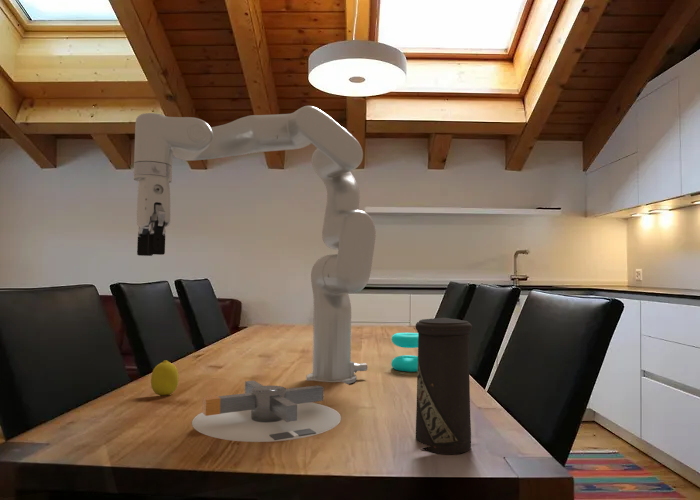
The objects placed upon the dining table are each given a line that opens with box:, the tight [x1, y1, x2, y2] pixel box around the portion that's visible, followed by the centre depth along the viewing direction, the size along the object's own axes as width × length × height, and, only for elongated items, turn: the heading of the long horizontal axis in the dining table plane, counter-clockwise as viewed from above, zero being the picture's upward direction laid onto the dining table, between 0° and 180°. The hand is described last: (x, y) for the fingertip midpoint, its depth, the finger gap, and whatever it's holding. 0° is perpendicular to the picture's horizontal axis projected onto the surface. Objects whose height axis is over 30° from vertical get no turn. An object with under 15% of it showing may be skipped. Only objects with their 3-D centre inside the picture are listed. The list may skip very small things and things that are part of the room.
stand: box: [191, 402, 342, 443], centre depth 90 cm, size 26×26×1 cm
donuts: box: [390, 332, 418, 373], centre depth 144 cm, size 10×10×10 cm
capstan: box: [201, 380, 324, 422], centre depth 90 cm, size 22×21×5 cm
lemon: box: [150, 359, 180, 397], centre depth 107 cm, size 6×6×8 cm
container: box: [415, 317, 473, 455], centre depth 80 cm, size 9×9×20 cm
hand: (150, 255), depth 106 cm, fingers open, 9 cm apart
